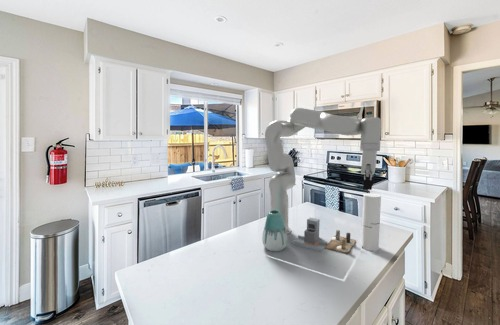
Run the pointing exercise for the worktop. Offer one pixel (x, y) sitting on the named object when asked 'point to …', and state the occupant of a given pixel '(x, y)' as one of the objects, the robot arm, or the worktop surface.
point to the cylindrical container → (371, 221)
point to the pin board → (334, 244)
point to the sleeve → (311, 236)
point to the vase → (274, 232)
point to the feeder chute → (300, 242)
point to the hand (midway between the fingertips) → (368, 187)
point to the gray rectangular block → (313, 224)
